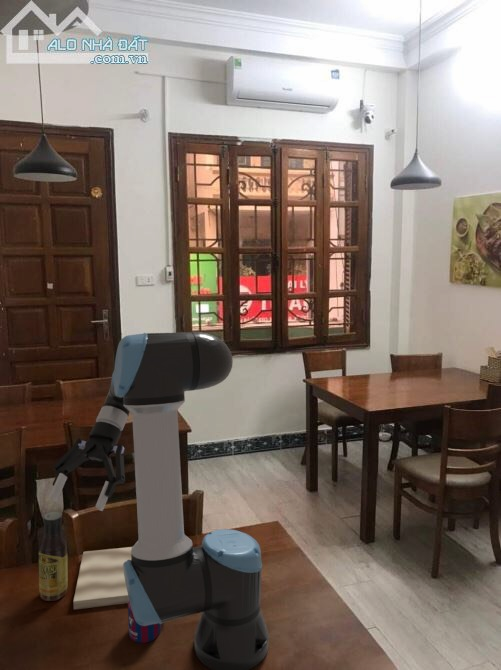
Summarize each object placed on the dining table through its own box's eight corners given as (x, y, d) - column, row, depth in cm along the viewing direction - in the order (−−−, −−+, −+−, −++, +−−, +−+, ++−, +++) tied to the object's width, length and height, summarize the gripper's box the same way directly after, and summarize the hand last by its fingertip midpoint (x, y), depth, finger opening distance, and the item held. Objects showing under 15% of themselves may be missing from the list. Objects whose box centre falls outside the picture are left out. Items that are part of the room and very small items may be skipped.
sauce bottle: (33, 599, 118) (29, 518, 115) (52, 583, 124) (48, 506, 121) (56, 606, 116) (52, 524, 113) (74, 589, 122) (71, 511, 119)
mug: (122, 631, 109) (121, 601, 108) (162, 609, 116) (161, 581, 115) (139, 648, 104) (139, 617, 103) (179, 624, 111) (179, 595, 110)
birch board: (137, 601, 118) (137, 593, 118) (73, 609, 115) (73, 601, 115) (138, 553, 137) (138, 546, 137) (83, 558, 134) (83, 551, 134)
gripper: (155, 438, 137) (125, 518, 125) (76, 427, 145) (41, 501, 133) (144, 425, 131) (112, 507, 119) (63, 415, 139) (25, 490, 127)
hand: (75, 504), depth 126 cm, fingers open, 13 cm apart
